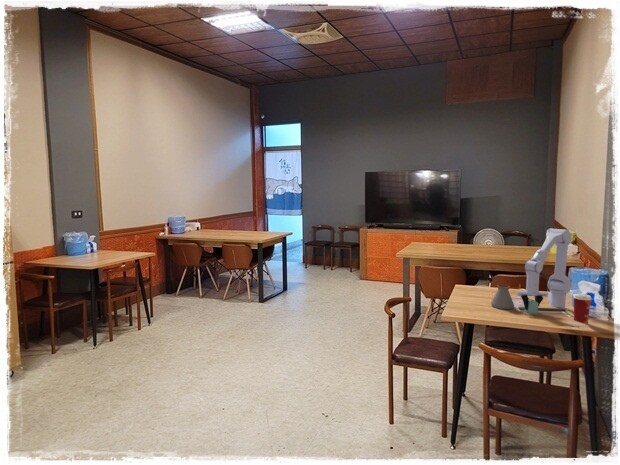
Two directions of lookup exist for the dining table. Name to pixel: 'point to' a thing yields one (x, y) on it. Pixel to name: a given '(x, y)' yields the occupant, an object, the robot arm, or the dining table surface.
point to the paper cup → (581, 307)
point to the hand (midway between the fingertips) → (531, 309)
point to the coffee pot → (502, 297)
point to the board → (548, 312)
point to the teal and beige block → (532, 306)
